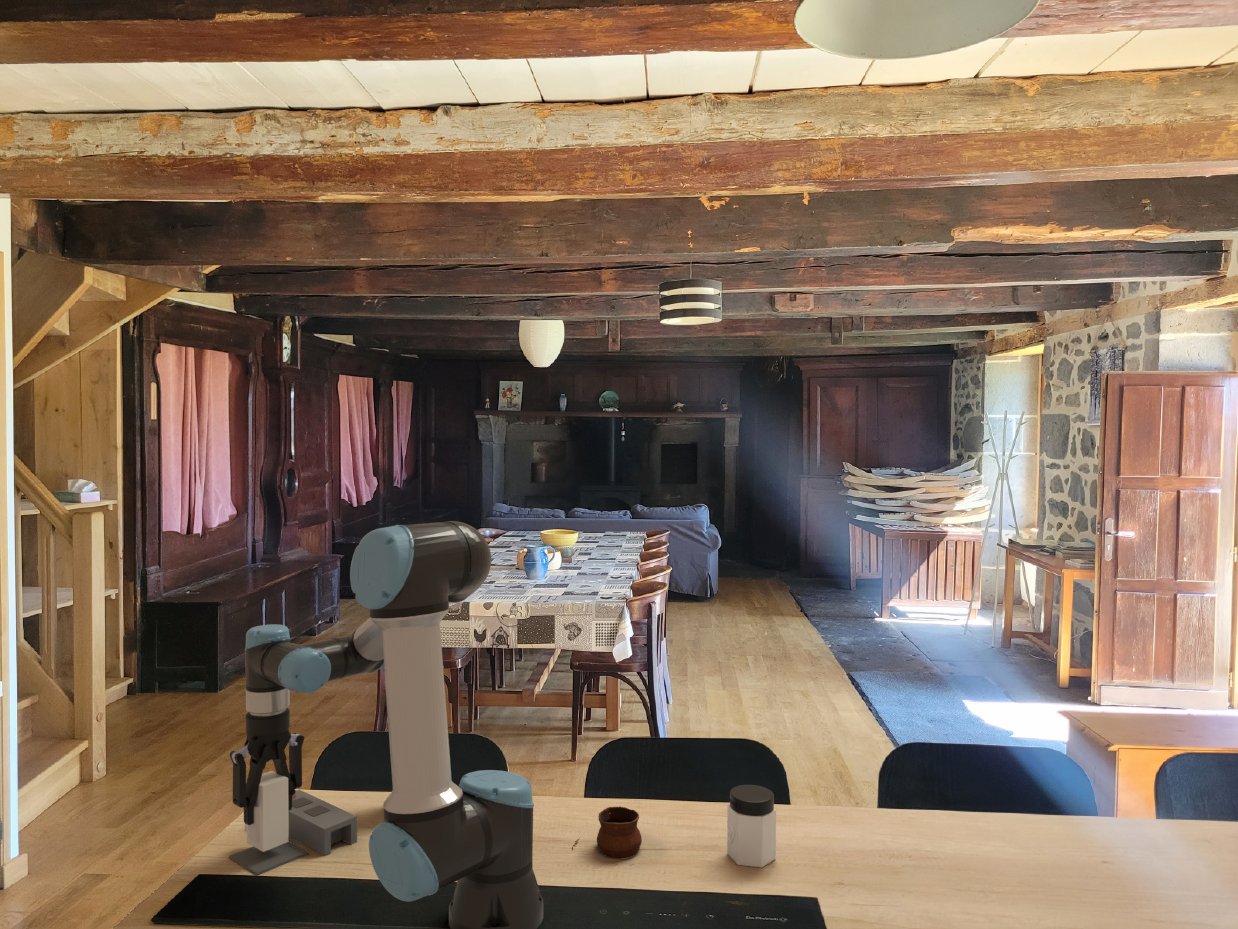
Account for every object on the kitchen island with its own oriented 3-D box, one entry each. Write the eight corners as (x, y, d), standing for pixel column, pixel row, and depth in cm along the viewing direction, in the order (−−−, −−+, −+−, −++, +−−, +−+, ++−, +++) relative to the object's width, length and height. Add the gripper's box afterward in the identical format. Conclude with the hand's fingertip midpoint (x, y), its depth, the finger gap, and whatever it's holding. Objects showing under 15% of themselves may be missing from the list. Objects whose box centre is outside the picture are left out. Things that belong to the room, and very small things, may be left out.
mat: (308, 854, 159) (308, 852, 159) (257, 875, 151) (257, 873, 151) (279, 838, 165) (279, 836, 165) (228, 858, 157) (228, 856, 157)
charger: (288, 841, 159) (288, 778, 158) (263, 852, 155) (262, 786, 154) (264, 828, 164) (263, 767, 164) (239, 838, 160) (238, 775, 160)
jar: (721, 848, 162) (721, 786, 162) (759, 843, 165) (760, 781, 164) (741, 871, 154) (742, 805, 153) (782, 865, 156) (782, 800, 156)
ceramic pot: (555, 861, 157) (556, 823, 157) (594, 823, 174) (595, 788, 173) (647, 883, 150) (648, 843, 150) (678, 841, 167) (679, 805, 167)
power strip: (357, 842, 164) (356, 813, 164) (324, 855, 158) (324, 826, 158) (299, 813, 176) (299, 786, 176) (267, 825, 171) (267, 797, 171)
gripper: (301, 694, 167) (301, 812, 168) (209, 718, 153) (210, 846, 153) (323, 702, 162) (323, 823, 163) (230, 727, 148) (231, 859, 149)
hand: (268, 834), depth 158 cm, fingers closed on charger, 5 cm apart
